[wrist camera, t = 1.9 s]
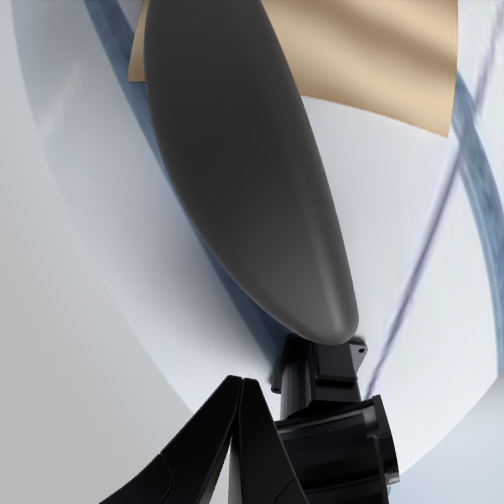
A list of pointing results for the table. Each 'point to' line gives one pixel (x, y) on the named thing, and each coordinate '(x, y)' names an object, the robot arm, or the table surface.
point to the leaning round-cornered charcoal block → (248, 161)
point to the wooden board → (363, 55)
